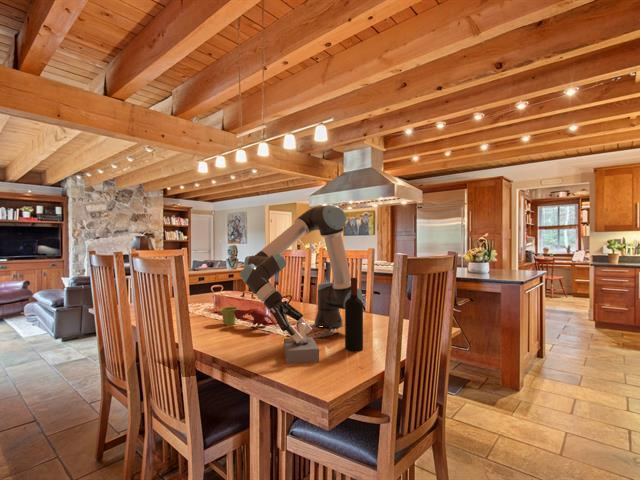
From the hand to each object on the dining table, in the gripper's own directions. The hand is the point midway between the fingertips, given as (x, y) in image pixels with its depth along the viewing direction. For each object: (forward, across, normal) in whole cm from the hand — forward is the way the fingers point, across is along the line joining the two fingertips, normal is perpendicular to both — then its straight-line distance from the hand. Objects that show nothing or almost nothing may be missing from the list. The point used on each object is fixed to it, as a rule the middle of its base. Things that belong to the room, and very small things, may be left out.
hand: (305, 335), depth 137 cm
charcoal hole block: (+4, 0, -7) cm, 8 cm away
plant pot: (-33, -40, -45) cm, 69 cm away
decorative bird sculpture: (-20, -36, -32) cm, 52 cm away
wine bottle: (+18, -14, +6) cm, 24 cm away
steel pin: (+4, 0, -6) cm, 7 cm away
